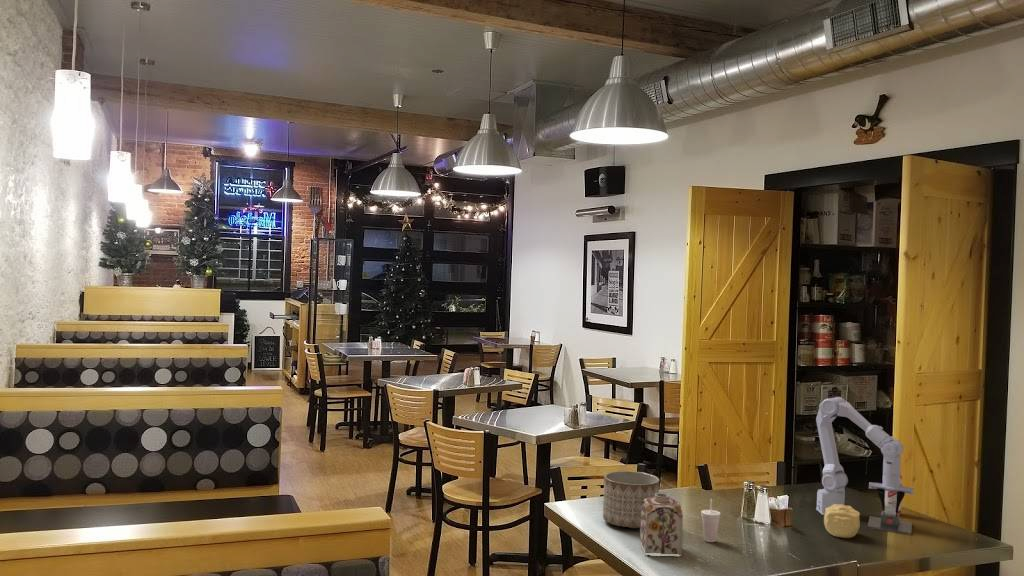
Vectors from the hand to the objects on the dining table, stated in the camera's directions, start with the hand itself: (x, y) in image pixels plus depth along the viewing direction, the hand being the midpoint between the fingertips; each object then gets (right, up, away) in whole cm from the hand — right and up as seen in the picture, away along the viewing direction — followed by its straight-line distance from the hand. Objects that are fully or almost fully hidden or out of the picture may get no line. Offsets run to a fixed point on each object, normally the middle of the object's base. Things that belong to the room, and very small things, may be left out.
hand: (890, 511), depth 279 cm
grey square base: (0, -6, 0) cm, 6 cm away
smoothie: (-72, -4, -23) cm, 75 cm away
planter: (-96, -3, -7) cm, 96 cm away
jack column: (0, -5, 0) cm, 5 cm away
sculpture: (-23, -5, -12) cm, 26 cm away
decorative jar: (-90, -3, -34) cm, 96 cm away
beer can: (+9, -6, +16) cm, 20 cm away
